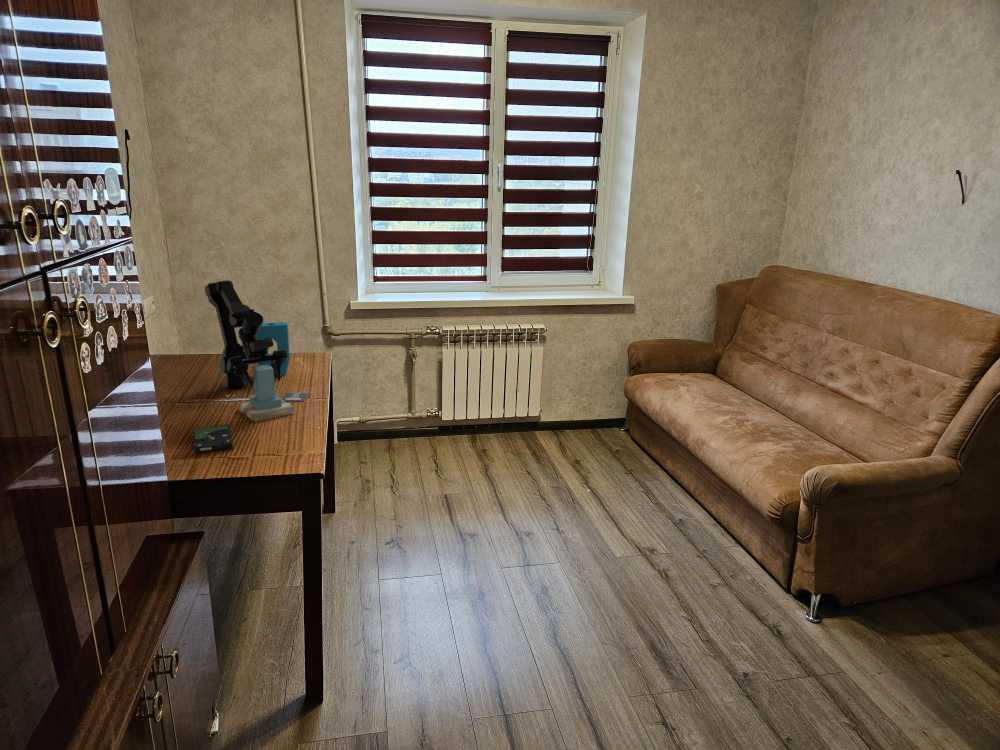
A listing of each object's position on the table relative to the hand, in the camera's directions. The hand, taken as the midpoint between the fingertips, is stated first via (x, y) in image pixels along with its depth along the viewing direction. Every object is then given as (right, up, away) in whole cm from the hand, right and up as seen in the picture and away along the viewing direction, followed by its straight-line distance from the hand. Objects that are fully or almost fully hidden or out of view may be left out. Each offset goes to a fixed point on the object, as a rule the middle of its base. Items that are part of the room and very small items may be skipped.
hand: (265, 382), depth 216 cm
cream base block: (-1, -10, +4) cm, 11 cm away
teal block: (-1, -7, +3) cm, 8 cm away
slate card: (+4, -5, +18) cm, 19 cm away
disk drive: (-8, -18, -20) cm, 28 cm away
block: (-11, +3, +42) cm, 43 cm away
